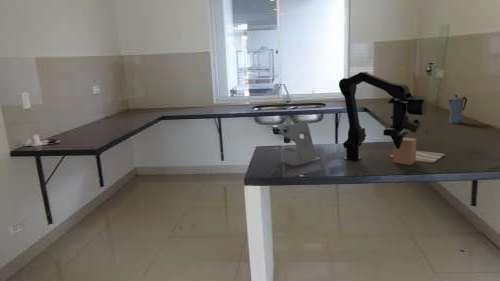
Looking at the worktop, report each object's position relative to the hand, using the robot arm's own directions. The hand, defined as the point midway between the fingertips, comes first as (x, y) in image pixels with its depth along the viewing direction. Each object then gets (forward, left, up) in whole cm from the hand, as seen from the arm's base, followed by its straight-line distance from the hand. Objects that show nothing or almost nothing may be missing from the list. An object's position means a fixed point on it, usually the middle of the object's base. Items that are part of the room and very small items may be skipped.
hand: (398, 148), depth 165 cm
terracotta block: (+8, 0, -8) cm, 11 cm away
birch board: (+21, -1, -8) cm, 23 cm away
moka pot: (+130, +10, -8) cm, 131 cm away
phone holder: (-16, +41, -8) cm, 45 cm away
